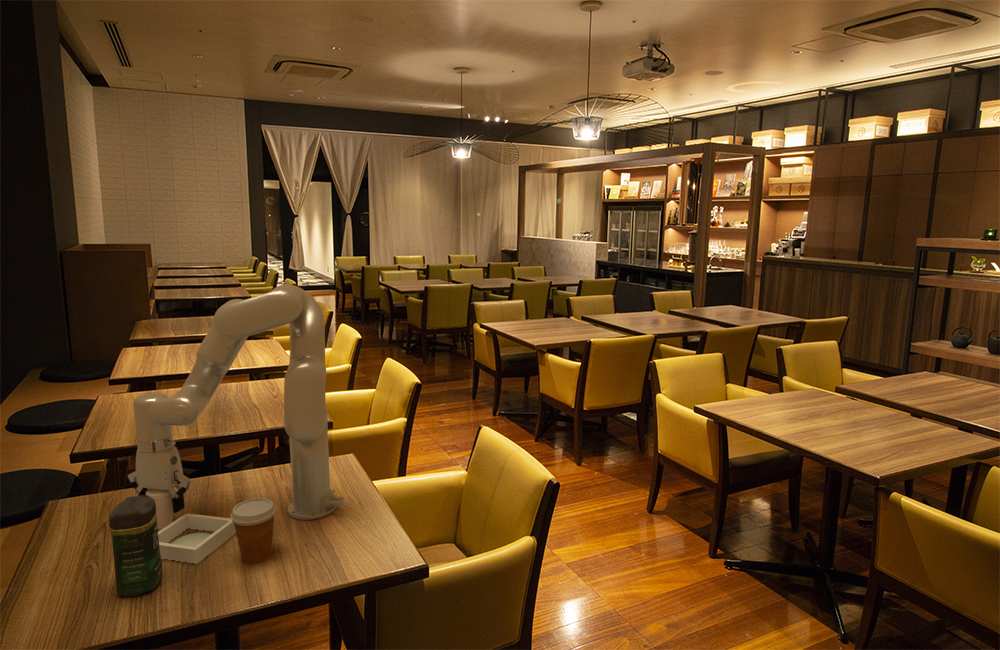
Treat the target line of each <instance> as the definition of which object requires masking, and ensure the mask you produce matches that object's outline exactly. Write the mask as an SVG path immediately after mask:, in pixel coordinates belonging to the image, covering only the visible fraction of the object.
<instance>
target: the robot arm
mask: <svg viewBox="0 0 1000 650" xmlns="http://www.w3.org/2000/svg"><path fill="white" fill-rule="evenodd" d="M211 324H212V325H211V327H210V328H209V330H208V331H207V333H206V335H205V337H204V338H203V340H202V342H201V343H200V345H199V346H198V348H197V350H196V359H195V360H196V361H195V363H194V365H193V367H192V369H191V371H190V373H189V375H188V376H187V378H186V380H185V382H184V383H183V385H182V386H181V388H180V390H179V391H177V393H176V394H174V395H173V396H170V397H168V395H167V394H166V393H163V392H149V393H144V394H141V395H138V396H136V397H135V398H134V399H133V401H132V402H133V403H132V408H133V416H134V425H135V433H136V435H135V436H136V444H137V450H136V454H135V455H136V456H135V471H133V472H131V473H129V474H128V475H127V478H128V480H129V482H130V483H131V486H132V487H133V489H134V490H135V494H137V496H142V495H146V491H147V490H148V489H159V490H169V491H170V493H171V494H172V495H173V496H174V497H173V498H172V506H173V514H178V513H180V512H181V511H182V510H184V509H185V498H184V497H185V496H184V494H186V492H187V491H188V490H189V489H190V485H191V483H192V479H191V478H189V477H188V476H186V475H184V471H183V466H182V461H181V457H180V453H179V450H178V448H177V447H176V446H175V445H176V441H175V440H174V439H173V438H174V437H173V430H172V426H178V427H182V426H188V425H189V426H190V425H191V424H193V423H195V422H196V421H197V420H198V419H199V417H200V416H201V414H202V413H203V412H204V411H205V409H206V408H207V406H208V405H209V403H210V401H211V399H212V398H213V396H214V394H215V393H216V391H217V389H218V387H219V385H220V384H221V382H222V381H223V379H224V377H225V375H226V374H227V373H228V371H229V370H230V369H231V367H232V365H233V363H234V362H235V360H236V358H237V356H238V354H239V353H240V352H241V349H243V348H242V347H243V346H244V344H245V343H246V340H247V339H248V338H249V337H250V336H254V335H256V334H261V333H264V332H267V331H270V330H273V329H277V328H281V327H283V326H286V325H288V324H289V363H288V366H287V369H286V373H285V375H284V383H283V412H284V413H283V424H284V431H285V432H286V434H287V435H288V436H289V453H290V468H291V484H292V485H291V486H292V501H291V502H290V503H289V504H288V505H287V514H288V516H289V517H291V518H293V519H296V520H302V521H308V520H309V521H310V520H311V521H312V520H317V519H320V518H324V517H327V516H329V515H331V514H332V513H333V512H335V510H337V509H343V507H344V504H345V503H344V497H343V496H336V495H335V489H331V478H330V477H331V476H330V474H331V473H330V457H329V456H330V455H329V454H330V453H329V431H328V408H327V405H326V390H327V389H326V385H327V383H326V381H327V366H326V365H327V364H326V339H325V338H326V336H325V335H326V333H325V332H326V331H325V329H326V328H325V320H324V314H323V311H322V309H321V307H320V305H319V303H318V302H317V301H316V299H315V297H314V296H313V295H311V293H309V292H308V291H306V290H304V289H303V288H302V287H299V286H297V285H293V284H280V285H277V286H276V287H274V288H273V289H272V290H271V291H268V292H265V293H263V294H259V295H256V296H253V297H250V298H246V299H242V298H241V299H240V298H236V299H230V300H228V301H227V302H225V303H224V304H222V305H221V306H220V307H219V308H218V309H217V310H216V311H215V314H214V316H213V323H211ZM174 488H175V489H174ZM176 489H177V490H176Z"/></svg>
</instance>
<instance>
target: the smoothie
mask: <svg viewBox="0 0 1000 650" xmlns="http://www.w3.org/2000/svg"><path fill="white" fill-rule="evenodd" d="M147 489H148V490H147V491H146V495H148V496H149V497H151V498H153V499H154V500H155V503H156V504H155V505H156V511H157V527H158V530H162V529H163V528H165V527H166V526H168V525H169V524H171V523H172V522H174V521H173V519H174V512H173V506H172V498H173V497H174V496H173V495H172V494H171V493H170V491H169V490H159V489H150V488H147ZM174 489H175V490H176V487H175V488H174Z"/></svg>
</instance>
